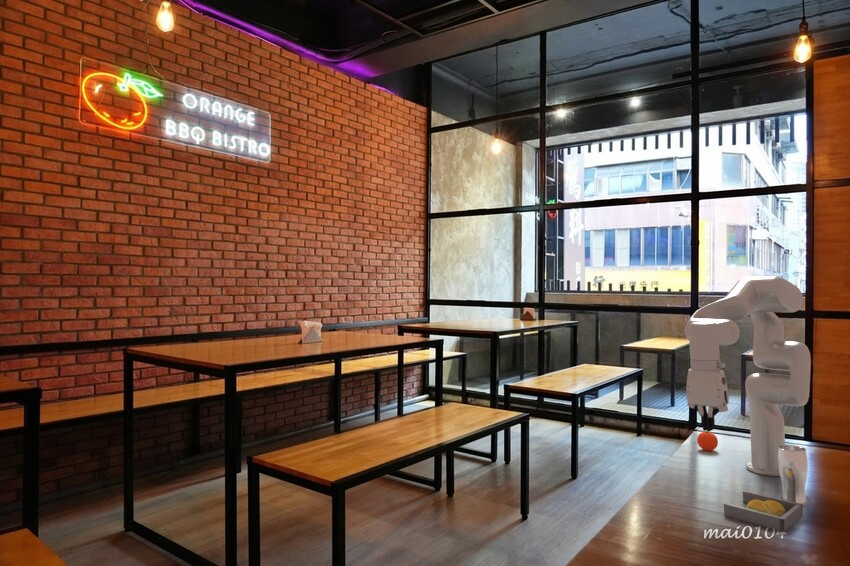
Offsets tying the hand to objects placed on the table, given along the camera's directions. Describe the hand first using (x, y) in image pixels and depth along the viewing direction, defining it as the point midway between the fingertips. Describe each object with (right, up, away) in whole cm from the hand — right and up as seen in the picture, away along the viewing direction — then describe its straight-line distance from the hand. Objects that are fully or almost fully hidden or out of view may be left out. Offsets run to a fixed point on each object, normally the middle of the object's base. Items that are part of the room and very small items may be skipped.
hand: (708, 429), depth 156 cm
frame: (+9, -20, -11) cm, 24 cm away
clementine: (+24, -20, +48) cm, 57 cm away
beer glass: (+23, -20, -2) cm, 30 cm away
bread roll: (+10, -20, -11) cm, 25 cm away
